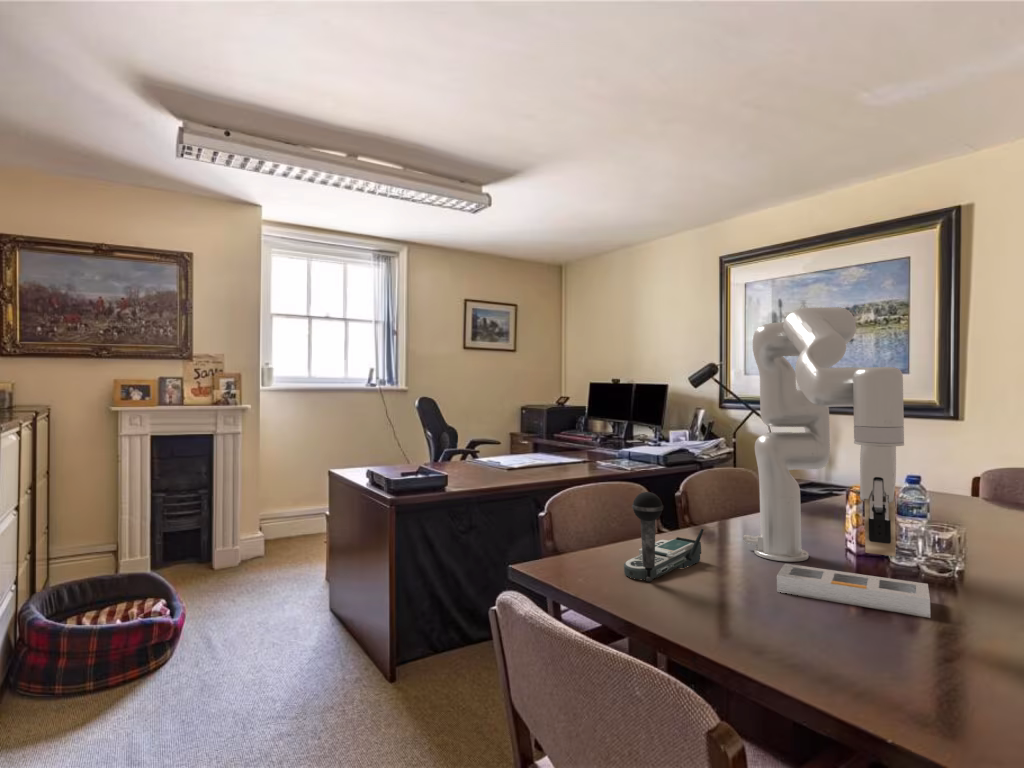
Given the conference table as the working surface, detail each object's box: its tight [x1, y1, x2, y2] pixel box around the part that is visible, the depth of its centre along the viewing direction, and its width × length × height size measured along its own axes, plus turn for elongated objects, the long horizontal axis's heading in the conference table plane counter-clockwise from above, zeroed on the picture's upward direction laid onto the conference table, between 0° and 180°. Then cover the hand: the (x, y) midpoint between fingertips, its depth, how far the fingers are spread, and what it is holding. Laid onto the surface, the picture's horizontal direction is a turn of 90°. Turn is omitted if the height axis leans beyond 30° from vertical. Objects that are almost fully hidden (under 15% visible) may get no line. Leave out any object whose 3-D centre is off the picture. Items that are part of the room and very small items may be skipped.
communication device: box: [623, 528, 705, 581], centre depth 137 cm, size 12×24×9 cm, turn 131°
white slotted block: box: [776, 563, 931, 619], centre depth 116 cm, size 26×10×4 cm, turn 56°
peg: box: [864, 492, 897, 557], centre depth 101 cm, size 4×4×11 cm
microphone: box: [631, 491, 665, 583], centre depth 127 cm, size 7×7×20 cm
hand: (880, 537), depth 101 cm, fingers closed on peg, 4 cm apart
